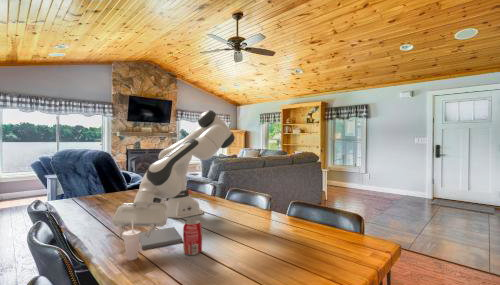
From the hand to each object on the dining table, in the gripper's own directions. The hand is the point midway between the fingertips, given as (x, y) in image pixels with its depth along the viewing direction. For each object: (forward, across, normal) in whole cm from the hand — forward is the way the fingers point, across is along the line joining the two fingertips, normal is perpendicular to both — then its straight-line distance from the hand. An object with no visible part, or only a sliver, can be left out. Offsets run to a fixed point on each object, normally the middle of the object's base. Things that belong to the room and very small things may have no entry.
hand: (134, 236), depth 95 cm
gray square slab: (-7, +3, +18) cm, 19 cm away
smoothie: (+6, 0, +5) cm, 8 cm away
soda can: (+3, +21, +9) cm, 23 cm away
